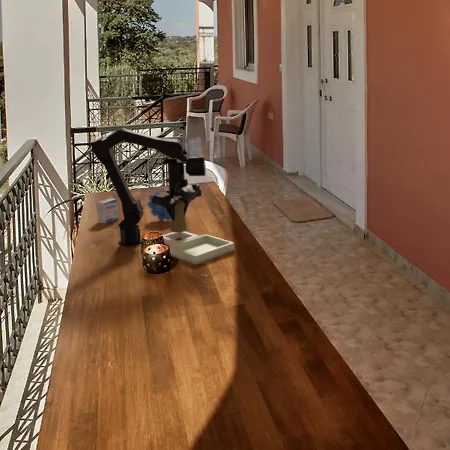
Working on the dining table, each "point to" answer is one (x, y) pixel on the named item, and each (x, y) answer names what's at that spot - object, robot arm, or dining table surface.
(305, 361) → the dining table surface
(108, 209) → the medicine box
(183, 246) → the parts tray
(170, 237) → the socket block
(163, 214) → the blue bumpy cluster
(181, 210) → the cork
